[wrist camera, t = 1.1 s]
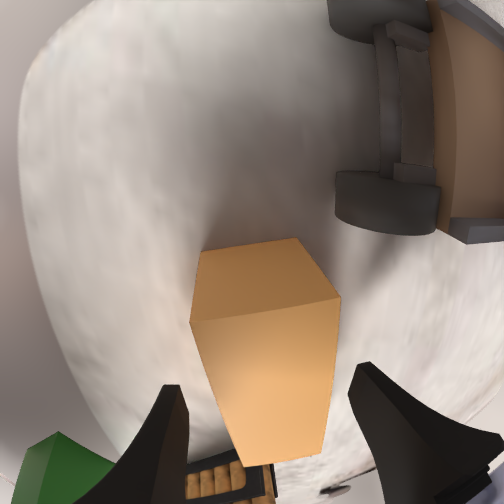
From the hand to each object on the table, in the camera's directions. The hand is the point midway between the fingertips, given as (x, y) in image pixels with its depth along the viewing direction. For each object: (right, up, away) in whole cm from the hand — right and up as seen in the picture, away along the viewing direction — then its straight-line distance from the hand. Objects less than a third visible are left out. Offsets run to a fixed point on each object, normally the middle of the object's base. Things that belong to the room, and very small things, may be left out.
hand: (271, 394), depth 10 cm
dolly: (+10, +12, 0) cm, 16 cm away
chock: (0, +2, +4) cm, 4 cm away
